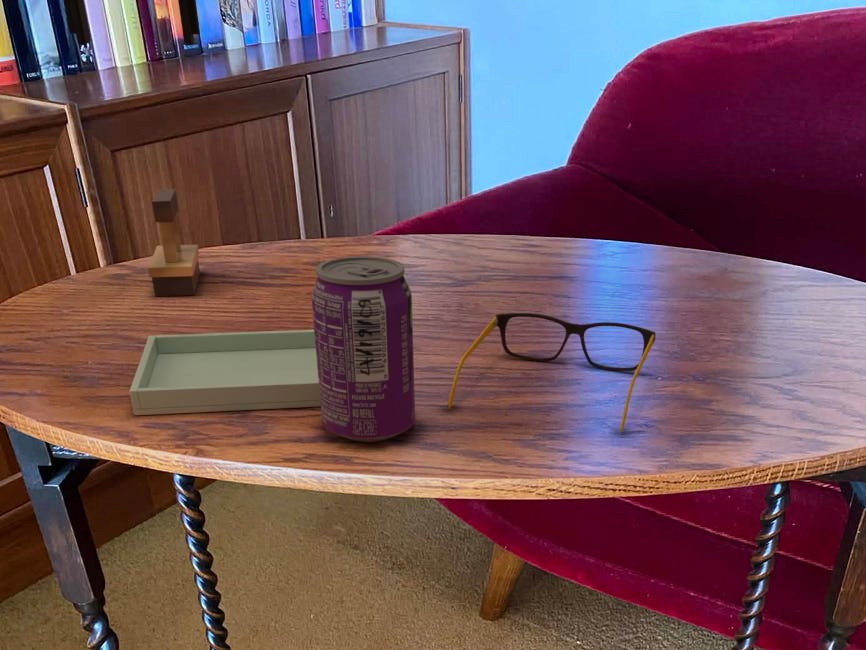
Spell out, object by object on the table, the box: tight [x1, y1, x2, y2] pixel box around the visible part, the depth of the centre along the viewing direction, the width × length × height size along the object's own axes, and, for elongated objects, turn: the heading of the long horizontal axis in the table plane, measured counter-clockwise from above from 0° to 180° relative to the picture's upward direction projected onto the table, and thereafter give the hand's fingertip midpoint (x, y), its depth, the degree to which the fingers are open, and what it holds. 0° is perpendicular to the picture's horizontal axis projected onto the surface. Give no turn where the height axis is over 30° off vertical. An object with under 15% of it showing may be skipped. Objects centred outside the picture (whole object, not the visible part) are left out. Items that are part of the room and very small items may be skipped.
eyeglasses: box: [447, 312, 657, 433], centre depth 80 cm, size 14×14×4 cm
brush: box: [147, 188, 201, 297], centre depth 102 cm, size 4×9×9 cm, turn 9°
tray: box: [128, 329, 321, 416], centre depth 81 cm, size 18×13×2 cm
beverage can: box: [311, 255, 416, 443], centre depth 70 cm, size 7×7×12 cm
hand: (137, 43), depth 91 cm, fingers open, 9 cm apart
